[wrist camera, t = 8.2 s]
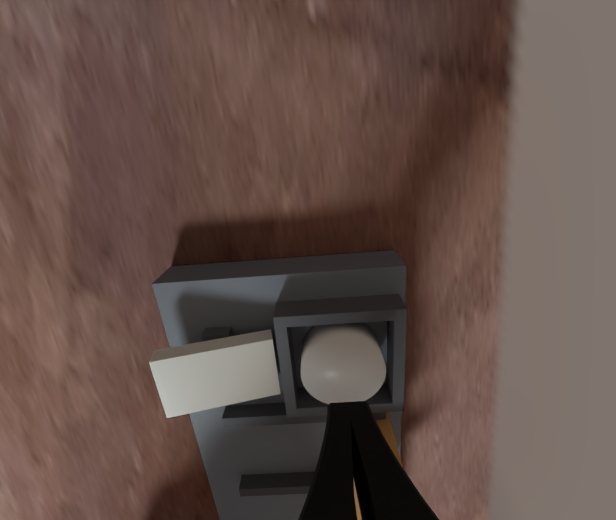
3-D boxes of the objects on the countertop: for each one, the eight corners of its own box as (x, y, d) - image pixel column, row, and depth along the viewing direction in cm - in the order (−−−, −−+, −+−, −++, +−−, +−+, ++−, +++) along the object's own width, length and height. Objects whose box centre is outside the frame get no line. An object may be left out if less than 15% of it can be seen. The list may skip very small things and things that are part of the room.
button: (304, 383, 16) (304, 408, 14) (298, 320, 14) (296, 340, 13) (379, 379, 15) (385, 403, 14) (379, 315, 14) (386, 334, 13)
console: (232, 503, 22) (219, 562, 19) (170, 266, 16) (136, 298, 13) (390, 496, 22) (403, 556, 19) (394, 249, 15) (416, 278, 12)
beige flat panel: (170, 404, 15) (167, 418, 14) (153, 350, 13) (148, 362, 13) (278, 381, 15) (280, 393, 15) (270, 329, 14) (272, 339, 14)
